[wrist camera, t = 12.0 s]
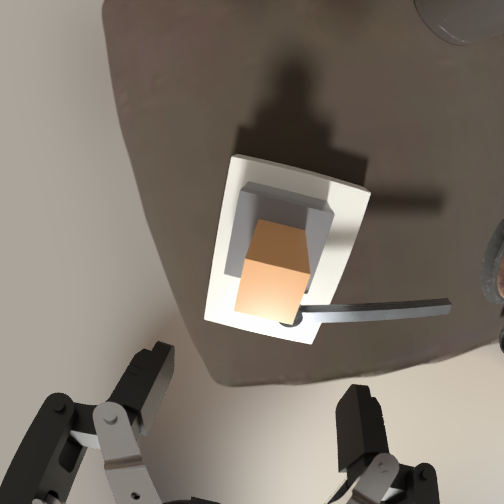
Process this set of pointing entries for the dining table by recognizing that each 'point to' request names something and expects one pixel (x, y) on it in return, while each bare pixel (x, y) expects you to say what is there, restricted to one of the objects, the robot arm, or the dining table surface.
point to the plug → (275, 252)
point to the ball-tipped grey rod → (369, 311)
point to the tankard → (494, 272)
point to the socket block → (333, 256)
